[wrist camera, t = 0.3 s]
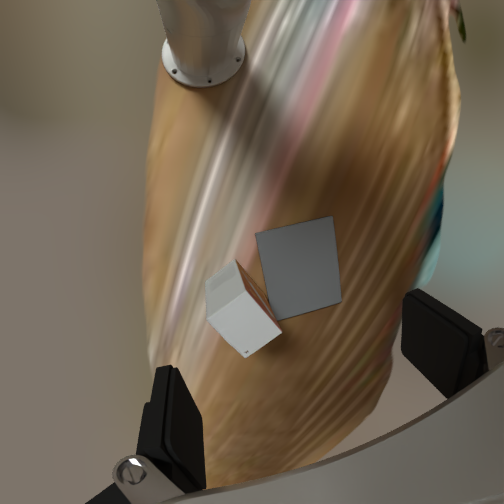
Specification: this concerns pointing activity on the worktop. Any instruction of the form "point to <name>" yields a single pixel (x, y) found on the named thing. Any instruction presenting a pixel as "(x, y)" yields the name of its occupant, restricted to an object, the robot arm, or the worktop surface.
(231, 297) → the small box
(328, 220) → the mat
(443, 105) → the worktop surface
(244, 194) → the worktop surface
